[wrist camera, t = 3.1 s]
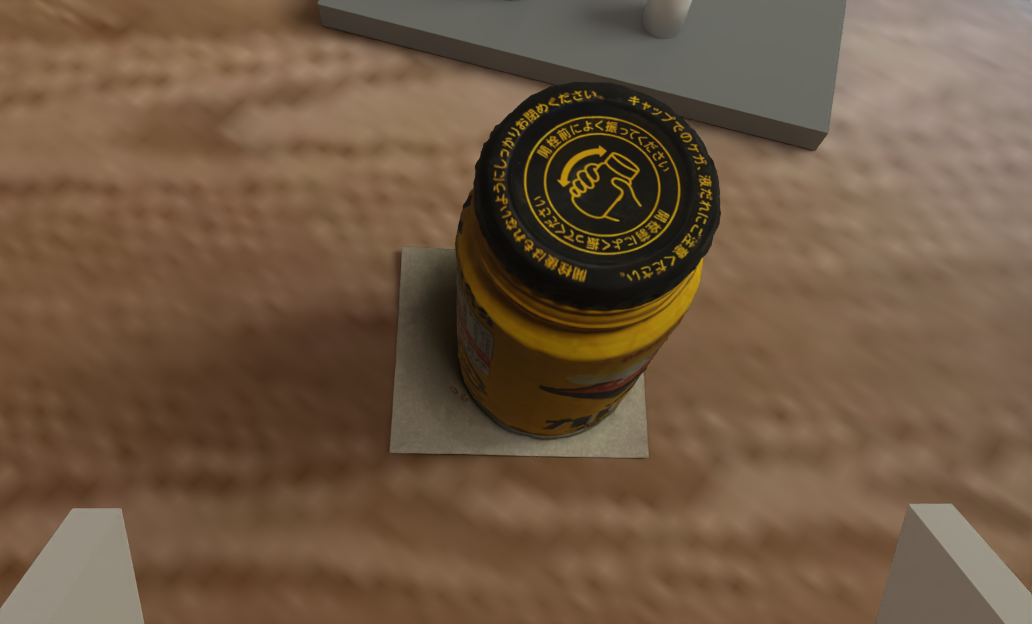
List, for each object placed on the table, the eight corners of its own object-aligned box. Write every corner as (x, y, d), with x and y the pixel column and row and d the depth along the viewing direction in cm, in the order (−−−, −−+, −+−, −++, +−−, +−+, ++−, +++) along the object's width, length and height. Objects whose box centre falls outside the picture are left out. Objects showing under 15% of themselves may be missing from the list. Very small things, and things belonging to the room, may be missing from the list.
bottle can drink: (647, 458, 27) (780, 340, 15) (389, 454, 26) (335, 328, 15) (637, 258, 29) (744, 33, 18) (402, 250, 29) (364, 15, 18)
